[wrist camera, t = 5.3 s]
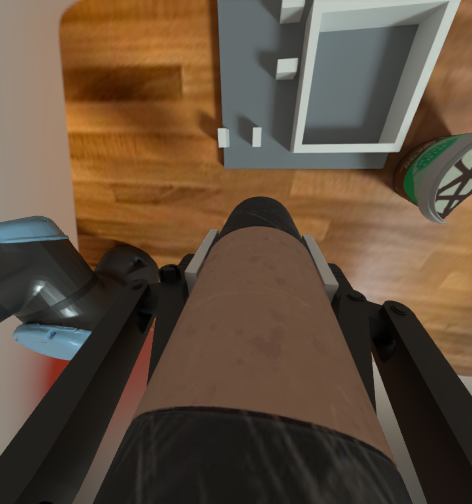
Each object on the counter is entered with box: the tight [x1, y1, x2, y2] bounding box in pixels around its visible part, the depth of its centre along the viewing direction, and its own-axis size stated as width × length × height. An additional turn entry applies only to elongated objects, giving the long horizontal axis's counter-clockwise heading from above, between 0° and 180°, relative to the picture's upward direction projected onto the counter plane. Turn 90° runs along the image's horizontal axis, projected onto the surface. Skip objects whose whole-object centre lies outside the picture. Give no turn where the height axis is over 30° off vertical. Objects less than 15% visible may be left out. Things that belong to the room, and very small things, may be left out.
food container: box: [393, 133, 472, 223], centre depth 25 cm, size 12×6×10 cm, turn 160°
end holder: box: [290, 0, 461, 153], centre depth 23 cm, size 14×14×4 cm
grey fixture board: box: [217, 0, 419, 169], centre depth 26 cm, size 26×19×2 cm
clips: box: [218, 0, 305, 147], centre depth 24 cm, size 10×14×3 cm
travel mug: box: [93, 196, 413, 504], centre depth 12 cm, size 8×8×20 cm
